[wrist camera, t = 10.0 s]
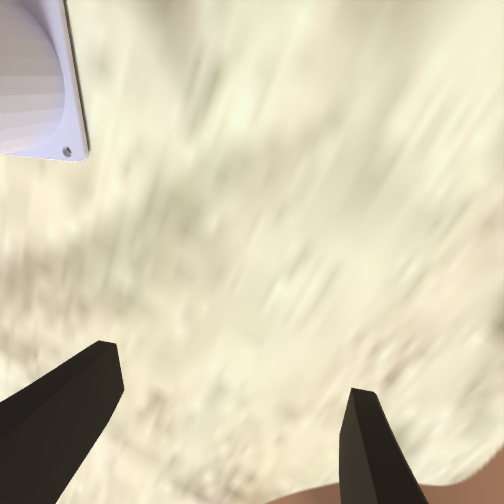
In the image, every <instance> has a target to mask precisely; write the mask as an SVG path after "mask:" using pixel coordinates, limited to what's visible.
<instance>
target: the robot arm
mask: <svg viewBox="0 0 504 504" xmlns="http://www.w3.org/2000/svg"><path fill="white" fill-rule="evenodd" d="M67 148H69V149H70V150H71V152H72V155H70V154H69V153H68V150H67ZM0 155H9V156H19V157H29V158H39V159H50V160H60V161H70V162H83V161H85V160H86V159H87V158H88V156H89V152H88V146H87V140H86V134H85V128H84V122H83V116H82V110H81V104H80V99H79V93H78V87H77V81H76V75H75V69H74V63H73V57H72V51H71V45H70V39H69V33H68V27H67V22H66V16H65V10H64V4H63V0H0ZM123 392H124V384H123V379H122V373H121V367H120V362H119V356H118V350H117V345H116V344H115V343H110V342H105V341H97V342H95V343H94V344H92V345H90V346H89V347H87V348H86V349H84V350H83V351H81V352H79V353H78V354H76V355H75V356H73V357H72V358H70V359H69V360H67V361H66V362H64V363H63V364H61V365H60V366H58V367H57V368H55V369H53V370H52V371H50V372H49V373H47V374H46V375H44V376H43V377H41V378H39V379H38V380H36V381H35V382H33V383H32V384H30V385H28V386H27V387H25V388H24V389H22V390H20V391H19V392H17V393H15V394H13V395H12V396H10V397H8V398H7V399H5V400H3V401H2V402H0V504H56V502H57V501H58V499H59V497H60V496H61V494H62V493H63V491H64V490H65V488H66V486H67V485H68V483H69V482H70V480H71V479H72V477H73V476H74V474H75V473H76V471H77V470H78V468H79V467H80V465H81V464H82V462H83V461H84V459H85V458H86V456H87V454H88V453H89V451H90V450H91V448H92V447H93V445H94V444H95V442H96V441H97V439H98V438H99V436H100V434H101V433H102V431H103V430H104V428H105V427H106V425H107V423H108V422H109V420H110V418H111V416H112V414H113V412H114V410H115V408H116V406H117V404H118V402H119V400H120V398H121V396H122V394H123ZM339 482H340V494H341V504H429V503H428V501H427V500H426V498H425V496H424V494H423V492H422V490H421V488H420V487H419V485H418V483H417V481H416V479H415V477H414V475H413V473H412V471H411V469H410V467H409V465H408V463H407V461H406V459H405V457H404V456H403V453H402V451H401V449H400V447H399V445H398V443H397V441H396V439H395V437H394V435H393V432H392V430H391V428H390V426H389V424H388V421H387V419H386V417H385V414H384V412H383V409H382V407H381V405H380V402H379V400H378V397H377V395H376V394H375V393H374V392H372V391H366V390H361V389H356V388H351V392H350V395H349V399H348V403H347V407H346V411H345V415H344V419H343V423H342V427H341V431H340V437H339Z"/></svg>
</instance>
